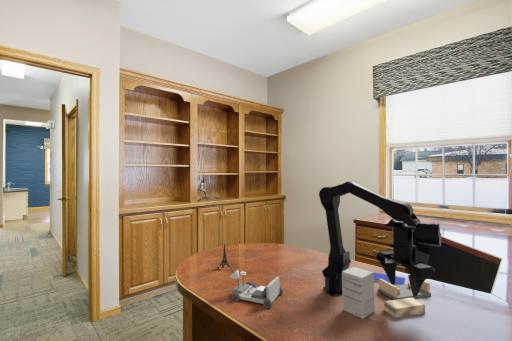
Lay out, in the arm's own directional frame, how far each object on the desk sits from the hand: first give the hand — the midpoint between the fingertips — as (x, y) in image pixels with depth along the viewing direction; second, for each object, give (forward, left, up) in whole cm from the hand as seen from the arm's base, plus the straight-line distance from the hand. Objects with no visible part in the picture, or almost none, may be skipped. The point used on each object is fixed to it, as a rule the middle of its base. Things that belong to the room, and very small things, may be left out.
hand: (403, 290), depth 86 cm
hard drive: (+13, +23, -8) cm, 27 cm away
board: (0, 0, -7) cm, 7 cm away
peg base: (+10, +11, -7) cm, 16 cm away
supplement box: (-14, +4, -7) cm, 16 cm away
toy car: (-44, +23, -7) cm, 50 cm away
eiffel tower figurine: (-51, +56, -7) cm, 76 cm away
